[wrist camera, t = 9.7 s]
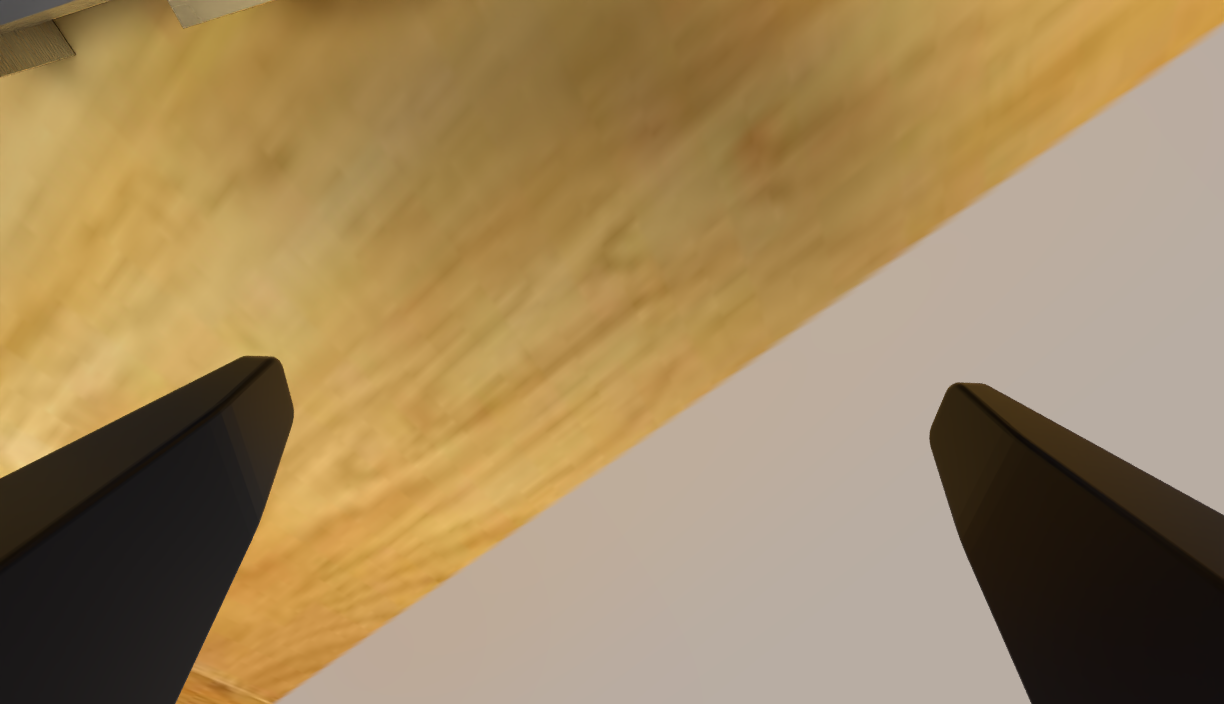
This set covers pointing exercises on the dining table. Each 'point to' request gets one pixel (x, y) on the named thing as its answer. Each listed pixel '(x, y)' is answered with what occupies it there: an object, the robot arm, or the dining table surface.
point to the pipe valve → (27, 3)
